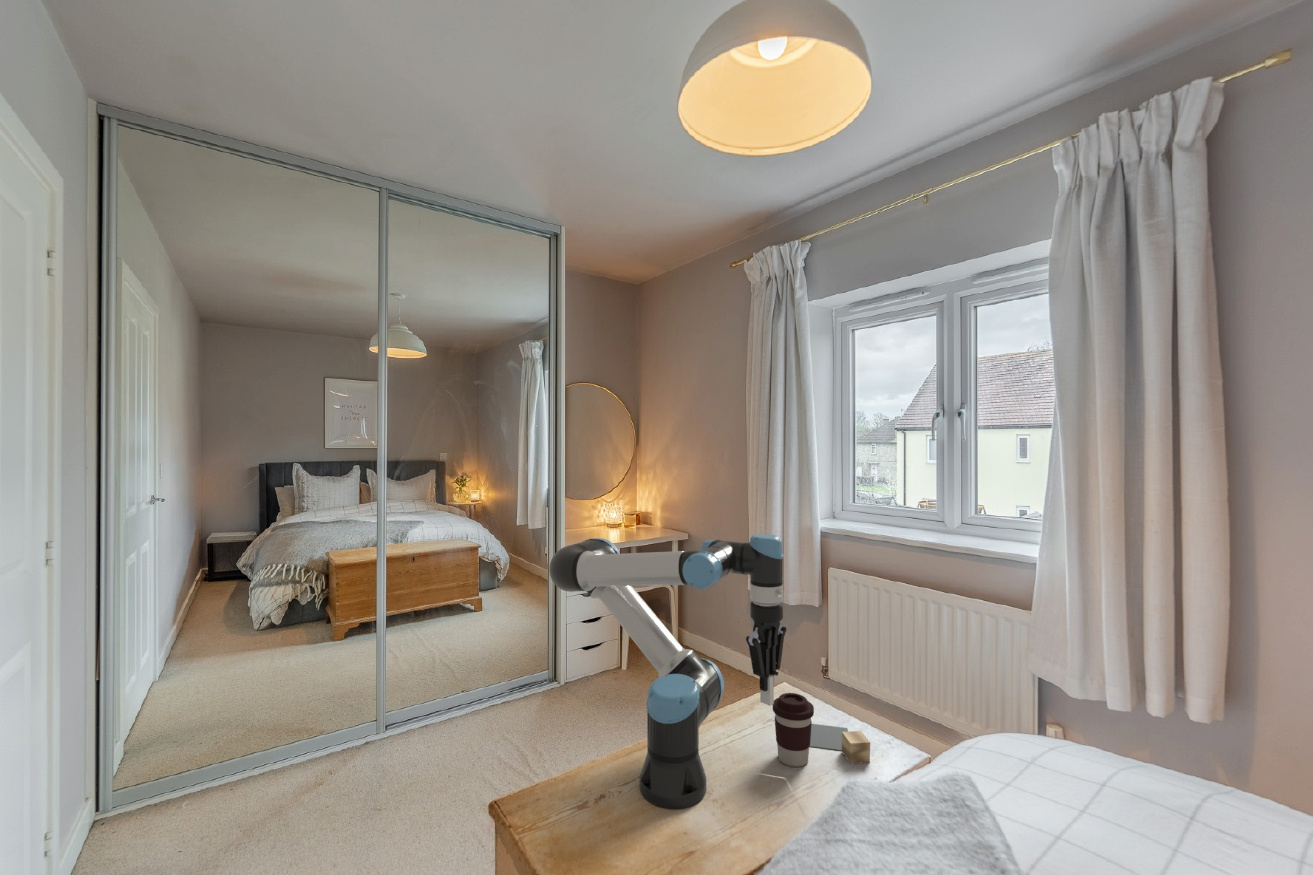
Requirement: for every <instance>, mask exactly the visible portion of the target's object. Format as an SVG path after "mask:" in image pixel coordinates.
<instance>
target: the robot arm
mask: <svg viewBox="0 0 1313 875" xmlns="http://www.w3.org/2000/svg"><path fill="white" fill-rule="evenodd" d="M783 552H784V551H783V541H782V538H781V537H779V536H778V535H775V534H769V533H767V534H766V533H765V534H764V533H763V534H762V533H760V534H759V533H758V534H754V535H751V536H750V538H749V541H748V542H742V541H741V542H740V541H733V540H732V541H731V540H730V541H729V540H721V539H715V540H714V539H706V540H705V541H704V542H702V545H701V547H700V549H697V550H686V551H685V550H682V551H681V550H678V551H676V550H675V551H674V550H673V551H657V552H652V551H651V552H634V553H631V552H630V553H629V552H627V553H620V551H619V548H617V546H616V545H615V544H614V543H613V542H611V541H610V540H608V539H606V538H603V537H599V538H597V537H596V538H588V539H585V540H583V541H581V542H577V543H573V544H570V545H566V546H563V547H562V548H560V549H559V550H557V551H556V552H555V553H554V555H553V556H552V558H551V559H550V563H549V570H548V572H549V576H550V580H551V581H552V582H553V584H554V585H555V586H556V587H557V588H558V589H559V590H561V591H565V592H570V593H571V592H573V593H574V592H586V593H587V594H588V596H589V597H590V598H591V599H598V600H600V601H601V602H602V604H603V605H604V606H605V608H607V610H608V611H609V612H610V614H611V615H612V616H613V618H614V619H615V620H616V622H618V623H619V625H620V626H621V627H622V628H623V630H624V631H625V632H626V634H627V635H628V637H630V639H631V640H632V641H633V642H634V643H635V645H636V646H637V648H638V649H639V650H640V651H641V652H642V653H643V655H644V656H645V658H647V660H648V661H649V663H650V664H651V665H652V666H653V667H654V669H655V670H656V671H657V672H658V678H656V679H655V680H653V681H652V683H651V684H650V686H649V688H648V691H647V698H646V714H647V716H646V719H647V721H646V723H647V726H646V727H647V729H646V730H647V733H646V736H647V739H646V740H647V741H646V743H647V747H646V748H647V751H646V756H645V760H644V762H643V766H642V769H641V771H640V775H639V792H640V794H641V796H642V797H643V798H644V800H646V801H647V802H649V803H651V804H653V805H655V806H657V807H660V808H665V809H682V808H683V809H684V808H688V807H691V806H693V805H695V804H697V803H699V802H701V800H702V799H703V798H704V797H705V796H706V793H707V776H706V772H705V768H704V767H703V763H702V760H701V756H700V753H699V744H700V743H699V740H700V739H699V736H700V735H699V732H700V730H699V729H700V726H701V725H702V724H703V722H704V721H705V720H706V719H707V717H708V716H709V715H710V714H711V712H713V711H714V710H715V709H716V708H717V707H718V705H719V703H720V701H721V699H722V697H723V695H724V691H725V681H724V677H723V674H722V672H721V671H720V668H719V667H718V666H717V665H716V664H715V663H714V662H712V661H711V660H710V659H705V658H701V657H699V656H698V654H697V653H696V652H695V651H694V650H693V649H689V648H688V649H686V648H684V647H683V646H682V645H681V643H680V642H679V641H678V640H677V639H676V637H675V636H674V635H673V634H672V633H671V631H670V630H669V629H668V628H667V627H666V625H665V624H664V623H663V622H662V620H660V619H659V617H658V616H657V615H656V613H655V612H654V611H653V610H652V609H651V607H650V606H649V605H648V604H647V602H646V601H645V600H644V599H643V598H642V597H641V595H640V594H639V593H638V592H637V590H636V589H635V588H634V587H636V586H637V587H640V586H641V587H642V586H643V587H644V586H645V587H646V586H688V585H689V586H691V587H692V588H695V589H699V590H703V589H707V588H711V587H712V586H714V585H716V584H717V583H718V582H719V581H720V580H722V579H723V578H725V577H727V576H728V575H729V574H738V575H745V576H748V575H749V578H750V584H749V585H750V586H749V599H750V601H751V602H750V604H749V605H750V610H749V611H750V612H749V613H750V618H751V619H752V620H753V622H754V623H753V627H752V633H751V635H750V636H749V635H747V636H746V637H745V641H746V643H747V645H748V651H749V656H750V661H751V667H752V668H751V669H752V673H753V675H754V676H758V677H759V690H760V694H759V696H760V700H759V702H760V703H762V704H764V705H767V706H769V707H771V706H773V704H774V700H775V696H774V695H775V693H774V692H775V688H774V687H775V677H777V676H778V675H779V670H780V669H781V665H782V656H783V648H784V641H785V635H786V632H787V627H786V626H783V625H781V621H782V620H783V619H784V604H783V601H784V594H783V593H784V586H783V584H784V582H783V581H784V578H783V576H784V575H783V573H784V572H783V570H784V568H783V567H784V553H783ZM777 670H778V671H777Z"/></svg>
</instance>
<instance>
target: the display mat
mask: <svg viewBox="0 0 1313 875" xmlns="http://www.w3.org/2000/svg"><path fill="white" fill-rule="evenodd" d="M842 732H849V730H848V727H840V726H832V725H828V724H827V725H825V724H818V723H812V726H811V740H810V746H809V748H819V749H824V750H831V751H832V750H833V751H838V752H842Z"/></svg>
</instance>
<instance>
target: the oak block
mask: <svg viewBox="0 0 1313 875" xmlns="http://www.w3.org/2000/svg"><path fill="white" fill-rule="evenodd" d="M841 753H842V754H843V755H844V757H845V759H846V760H847V761H848V763H849V764H862V763H865V764H866V763H871V741H870V740H869V739H868V738H867V737H866V735H865V734H864V732H863V731H862V730H855V731H853V730H852V731H850V730H849V731H848V732H842V751H841Z"/></svg>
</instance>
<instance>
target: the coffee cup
mask: <svg viewBox="0 0 1313 875" xmlns="http://www.w3.org/2000/svg"><path fill="white" fill-rule="evenodd" d="M772 711H773V713H774V714H775V715H774V726H775V727H774V729H775V741H776V746H777V757H778V759H779V761H780V762H781V763H782V764H784V765H786V766H790V767H795V768H796V767H797V768H798V767H804V766H805V765H807V763H808V762H809V754H810V747H809V746H810V740H811V726H812V724H813V722H812V718H813V716H814V712H815V707H814V704H812V703H811V702H810V701H809V700H808V699H807V698H806V697H805V696H804V695H802V694H799V693H794V692H785V693H783V694H781V695H779V697H777V698H774V704H773V705H772Z"/></svg>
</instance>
